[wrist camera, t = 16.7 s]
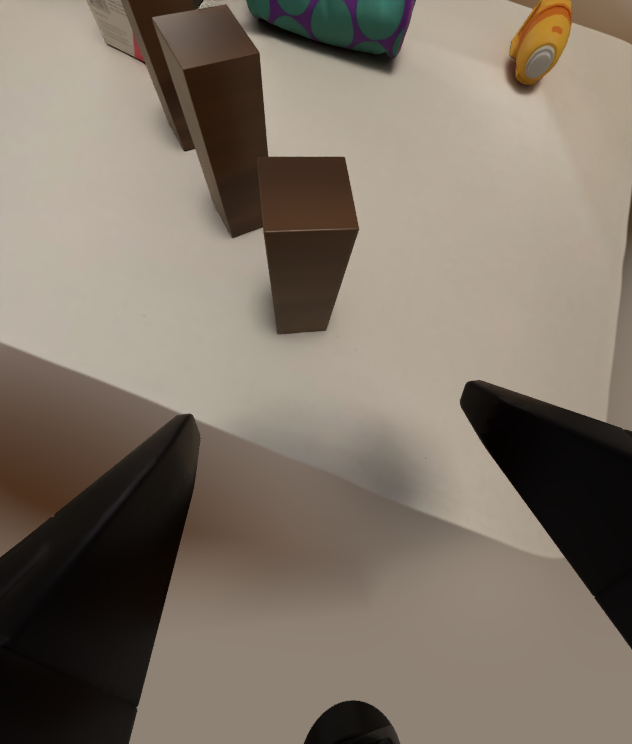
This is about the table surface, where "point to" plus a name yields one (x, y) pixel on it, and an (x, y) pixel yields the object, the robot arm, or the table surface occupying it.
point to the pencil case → (342, 21)
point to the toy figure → (541, 40)
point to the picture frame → (196, 3)
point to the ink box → (115, 25)
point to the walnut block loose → (306, 236)
